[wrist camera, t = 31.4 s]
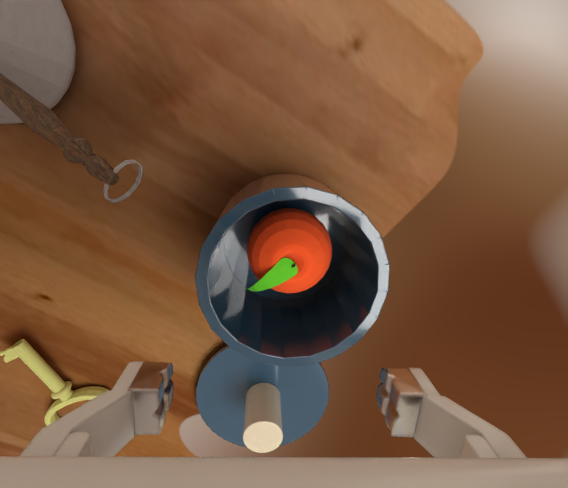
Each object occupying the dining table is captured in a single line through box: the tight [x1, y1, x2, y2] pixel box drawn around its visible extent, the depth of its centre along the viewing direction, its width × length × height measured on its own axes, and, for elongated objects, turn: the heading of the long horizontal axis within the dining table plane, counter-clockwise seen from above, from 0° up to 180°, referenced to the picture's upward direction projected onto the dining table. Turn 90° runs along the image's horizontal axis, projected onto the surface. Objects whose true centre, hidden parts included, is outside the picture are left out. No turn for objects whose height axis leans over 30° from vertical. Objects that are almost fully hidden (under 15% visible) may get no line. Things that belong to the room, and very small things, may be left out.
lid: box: [196, 345, 329, 453], centre depth 33 cm, size 14×14×6 cm
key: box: [0, 339, 110, 426], centre depth 33 cm, size 7×12×2 cm, turn 42°
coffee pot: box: [0, 0, 143, 203], centre depth 19 cm, size 21×12×15 cm, turn 55°
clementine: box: [247, 208, 332, 293], centre depth 27 cm, size 8×7×7 cm
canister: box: [195, 174, 390, 367], centre depth 26 cm, size 13×13×10 cm
